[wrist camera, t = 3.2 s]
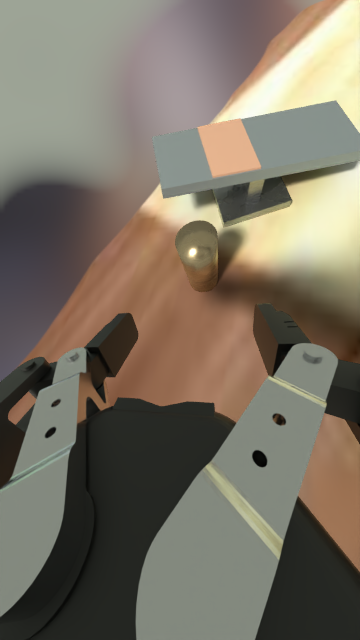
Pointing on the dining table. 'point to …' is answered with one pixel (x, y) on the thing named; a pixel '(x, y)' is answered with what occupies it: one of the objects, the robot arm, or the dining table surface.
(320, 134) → the seesaw board
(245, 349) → the dining table surface
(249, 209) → the pivot stand
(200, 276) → the ball
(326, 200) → the dining table surface
